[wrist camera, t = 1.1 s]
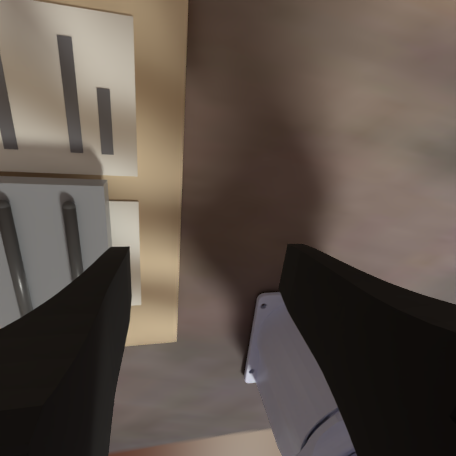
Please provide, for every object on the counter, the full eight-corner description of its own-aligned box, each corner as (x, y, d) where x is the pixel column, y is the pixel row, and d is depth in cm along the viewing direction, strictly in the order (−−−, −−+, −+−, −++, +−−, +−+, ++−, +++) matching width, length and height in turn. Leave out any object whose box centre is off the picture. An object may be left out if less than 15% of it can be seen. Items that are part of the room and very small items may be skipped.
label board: (176, 338, 23) (176, 344, 22) (-38, 357, 19) (-44, 365, 19) (189, -45, 13) (190, -50, 13) (-219, -133, 10) (-240, -146, 10)
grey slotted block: (120, 349, 21) (115, 378, 19) (24, 357, 19) (7, 390, 17) (108, 178, 16) (100, 191, 14) (-23, 173, 14) (-54, 187, 12)
